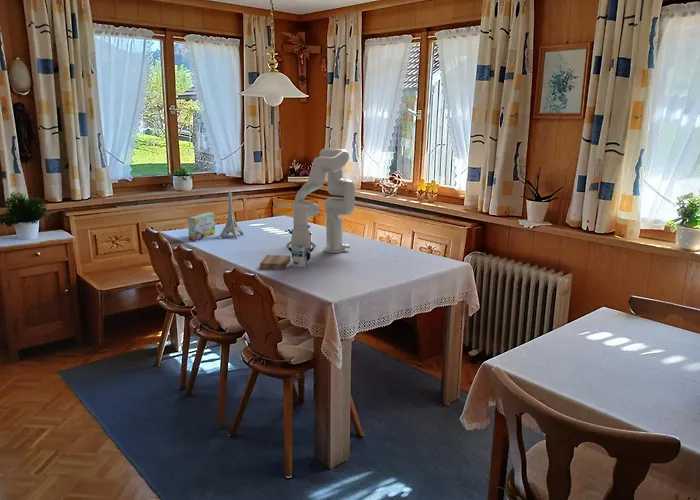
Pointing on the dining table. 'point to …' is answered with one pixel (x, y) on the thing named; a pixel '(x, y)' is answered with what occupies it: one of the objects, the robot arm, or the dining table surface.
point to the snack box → (201, 226)
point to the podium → (275, 262)
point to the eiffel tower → (231, 221)
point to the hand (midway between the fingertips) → (301, 259)
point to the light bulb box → (299, 256)
